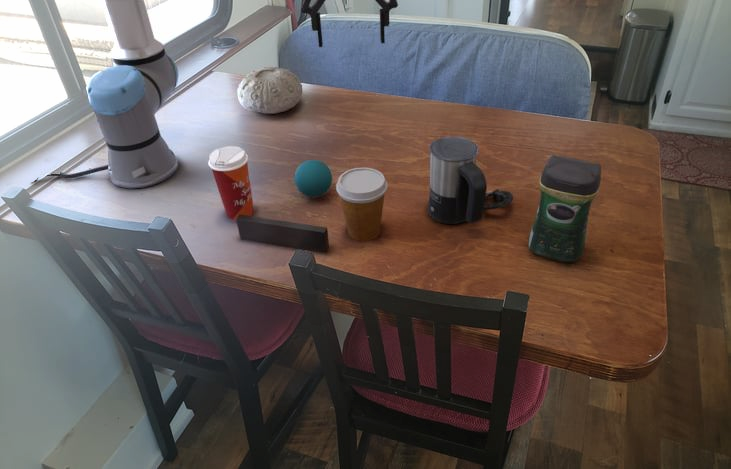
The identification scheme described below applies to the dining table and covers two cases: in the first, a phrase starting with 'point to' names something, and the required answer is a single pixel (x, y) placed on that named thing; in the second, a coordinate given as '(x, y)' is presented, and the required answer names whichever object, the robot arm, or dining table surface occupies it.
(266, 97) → the decorative shell
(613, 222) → the dining table surface
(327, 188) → the ball
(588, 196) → the coffee jar
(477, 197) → the milk frother
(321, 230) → the block
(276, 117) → the dining table surface
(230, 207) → the paper cup
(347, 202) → the disposable coffee cup
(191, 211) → the dining table surface
